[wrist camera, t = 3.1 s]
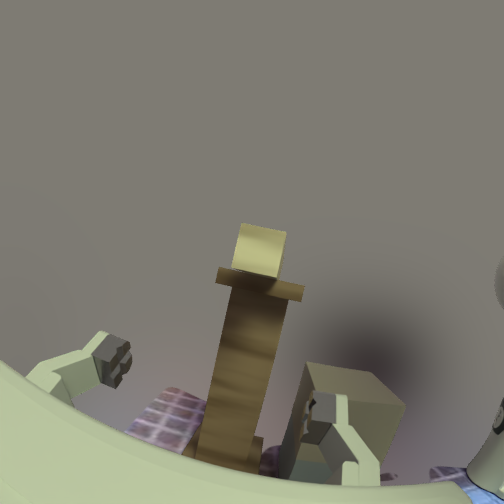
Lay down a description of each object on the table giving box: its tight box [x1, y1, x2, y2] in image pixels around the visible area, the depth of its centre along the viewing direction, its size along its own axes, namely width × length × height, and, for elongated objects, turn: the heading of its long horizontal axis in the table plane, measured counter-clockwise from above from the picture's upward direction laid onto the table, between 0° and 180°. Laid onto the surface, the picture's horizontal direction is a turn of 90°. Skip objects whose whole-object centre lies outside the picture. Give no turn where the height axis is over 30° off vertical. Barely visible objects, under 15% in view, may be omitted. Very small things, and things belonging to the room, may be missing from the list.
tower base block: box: [278, 414, 381, 484], centre depth 32 cm, size 14×10×8 cm
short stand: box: [181, 267, 305, 475], centre depth 34 cm, size 16×10×26 cm, turn 174°
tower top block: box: [292, 362, 406, 466], centre depth 33 cm, size 14×10×8 cm
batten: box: [232, 223, 286, 280], centre depth 31 cm, size 22×3×3 cm, turn 174°
